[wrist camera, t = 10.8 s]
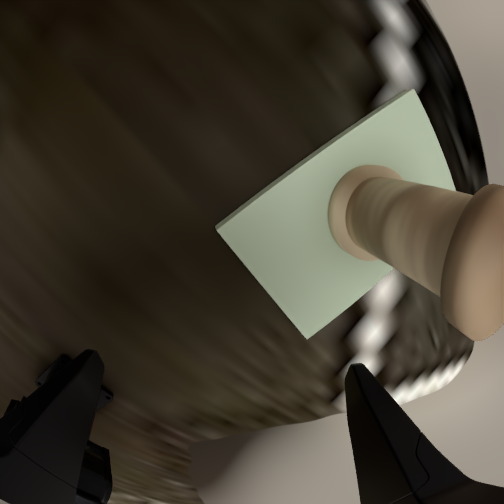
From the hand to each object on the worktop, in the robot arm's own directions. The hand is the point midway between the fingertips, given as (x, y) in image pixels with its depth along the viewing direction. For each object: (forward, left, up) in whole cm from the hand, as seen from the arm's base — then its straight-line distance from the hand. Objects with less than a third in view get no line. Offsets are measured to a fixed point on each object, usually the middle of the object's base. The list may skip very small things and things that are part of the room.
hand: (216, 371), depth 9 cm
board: (+12, -5, -12) cm, 18 cm away
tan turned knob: (+12, -5, -11) cm, 17 cm away
